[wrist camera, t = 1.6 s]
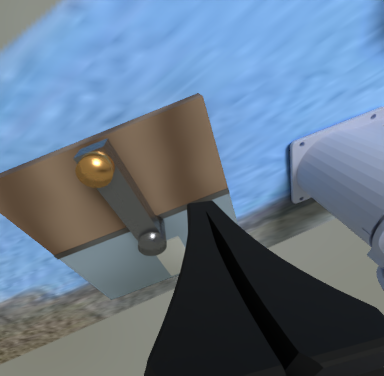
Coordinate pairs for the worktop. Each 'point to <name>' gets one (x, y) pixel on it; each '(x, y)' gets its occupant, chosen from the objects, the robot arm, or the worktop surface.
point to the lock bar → (121, 194)
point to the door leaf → (136, 257)
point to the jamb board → (138, 168)
